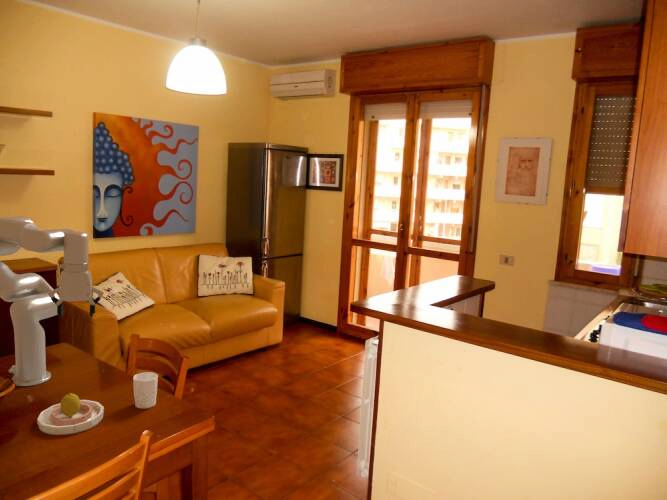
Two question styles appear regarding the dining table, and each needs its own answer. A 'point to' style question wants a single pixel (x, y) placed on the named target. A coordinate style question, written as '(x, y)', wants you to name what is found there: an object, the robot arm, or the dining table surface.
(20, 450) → the dining table surface
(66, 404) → the lemon
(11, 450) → the dining table surface
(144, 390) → the white cup
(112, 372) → the dining table surface
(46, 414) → the fruit dish
